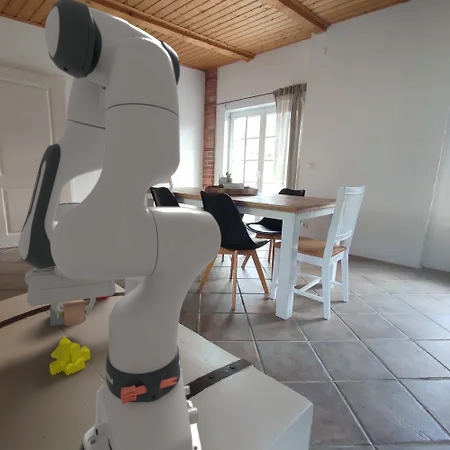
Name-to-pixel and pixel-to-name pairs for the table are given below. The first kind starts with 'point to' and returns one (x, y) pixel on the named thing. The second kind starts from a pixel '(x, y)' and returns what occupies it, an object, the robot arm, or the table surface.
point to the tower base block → (55, 318)
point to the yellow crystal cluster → (69, 357)
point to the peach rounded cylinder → (74, 312)
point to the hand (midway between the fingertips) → (74, 315)
